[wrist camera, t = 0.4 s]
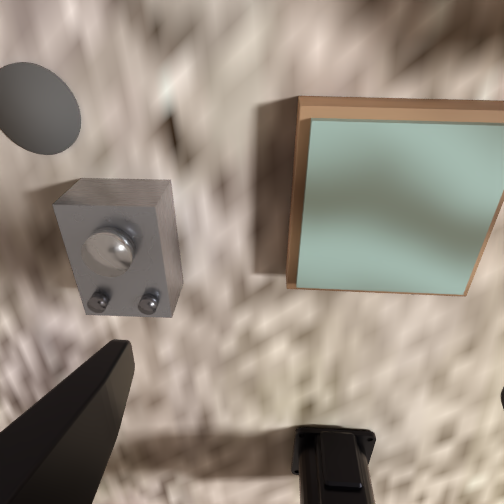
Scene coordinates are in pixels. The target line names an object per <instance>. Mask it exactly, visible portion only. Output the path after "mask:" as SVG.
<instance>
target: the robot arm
mask: <svg viewBox="0 0 504 504" xmlns="http://www.w3.org/2000/svg"><path fill="white" fill-rule="evenodd" d="M134 370H135V363H134V357H133V352H132V346H131V343H130V341H128V340H117V339H114V340H111V341H110V342H109V343H107V344H106V345H105V346H104V347H103V348H101V349H100V350H99V351H98V352H97V353H95V354H94V355H93V356H92V357H91V358H89V359H88V360H87V361H86V362H84V363H83V364H82V365H81V366H80V367H78V368H77V369H76V370H75V371H74V372H72V373H71V374H70V375H69V376H68V377H66V378H65V379H64V380H63V381H62V382H60V383H59V384H58V385H57V386H56V387H54V388H53V389H52V390H51V391H50V392H48V393H47V394H46V395H45V396H44V397H42V398H41V399H40V400H39V401H38V402H36V403H35V404H34V405H33V406H32V407H30V408H29V409H28V410H27V411H26V412H24V413H23V414H22V415H21V416H19V417H18V418H17V419H16V420H15V421H13V422H12V423H11V424H10V425H9V426H7V427H6V428H5V429H4V430H3V431H1V432H0V504H92V502H93V500H94V497H95V494H96V492H97V489H98V487H99V484H100V481H101V479H102V476H103V473H104V471H105V468H106V466H107V463H108V460H109V458H110V455H111V452H112V450H113V447H114V444H115V442H116V439H117V436H118V432H119V429H120V425H121V422H122V418H123V414H124V410H125V406H126V402H127V398H128V395H129V391H130V387H131V383H132V379H133V375H134ZM501 402H502V406H503V409H504V388H503V389H502V392H501ZM375 442H376V436H375V433H373V432H370V431H353V430H335V429H318V428H298V429H296V433H295V441H294V449H293V458H292V466H291V471H292V473H293V474H295V475H299V483H300V504H375V500H374V495H373V490H372V484H371V479H370V474H369V469H368V464H369V461H370V458H371V455H372V451H373V448H374V445H375Z"/></svg>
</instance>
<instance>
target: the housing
mask: <svg viewBox="0 0 504 504" xmlns="http://www.w3.org/2000/svg"><path fill="white" fill-rule="evenodd" d="M52 205H53V209H54V212H55V215H56V218H57V222H58V225H59V228H60V231H61V235H62V238H63V241H64V244H65V248H66V251H67V254H68V257H69V261H70V264H71V267H72V270H73V274H74V277H75V280H76V283H77V287H78V290H79V293H80V296H81V300H82V303H83V306H84V310H85V313H86V315H109V316H137V317H166V318H172V316H173V313H174V310H175V307H176V304H177V301H178V298H179V295H180V292H181V289H182V286H183V274H182V266H181V258H180V250H179V242H178V233H177V225H176V217H175V209H174V201H173V193H172V184H171V180H152V179H98V178H81V179H80V180H78V181H77V182H76V183H75V184H74V185H73V186H72V187H71V188H70V189H69V190H68V191H67V192H65V193H64V194H63V195H62V196H61V197H60V198H59V199H58V200H57V201H56V202H55V203H54V204H52Z"/></svg>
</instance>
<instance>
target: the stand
mask: <svg viewBox="0 0 504 504" xmlns="http://www.w3.org/2000/svg"><path fill="white" fill-rule="evenodd" d="M503 201H504V101H489V100H448V99H406V98H365V97H323V96H298V109H297V123H296V137H295V151H294V165H293V179H292V192H291V206H290V220H289V234H288V248H287V262H286V284H287V289H306V290H329V291H352V292H375V293H398V294H421V295H444V296H466V295H467V293H468V290H469V288H470V285H471V282H472V280H473V277H474V275H475V272H476V270H477V267H478V265H479V262H480V260H481V257H482V255H483V252H484V249H485V247H486V244H487V242H488V239H489V237H490V234H491V232H492V229H493V227H494V224H495V221H496V219H497V216H498V214H499V211H500V209H501V206H502V204H503Z"/></svg>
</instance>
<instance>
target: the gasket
mask: <svg viewBox="0 0 504 504" xmlns="http://www.w3.org/2000/svg"><path fill="white" fill-rule="evenodd" d="M0 128H1V129H2V131H3V132H4V133H5V134H6V135H7V136H8V137H9V138H10V139H11V140H12V141H13V142H15V143H16V144H18V145H19V146H21V147H22V148H24V149H26V150H28V151H31V152H34V153H37V154H43V155H52V154H57V153H60V152H63V151H64V150H66V149H67V148H69V147H70V146H71V145H72V144H73V143H74V142H75V141H76V139H77V137H78V135H79V132H80V128H81V115H80V110H79V106H78V104H77V101H76V99H75V97H74V95H73V93H72V92H71V90H70V89H69V88H68V86H67V85H66V84H65V83H64V82H63V81H62V80H61V79H60V78H59V77H58V76H57V75H55V74H54V73H53V72H51V71H50V70H48V69H46V68H44V67H42V66H39V65H37V64H33V63H27V62H18V63H13V64H9V65H7V66H4V67H3V68H1V69H0Z"/></svg>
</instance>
